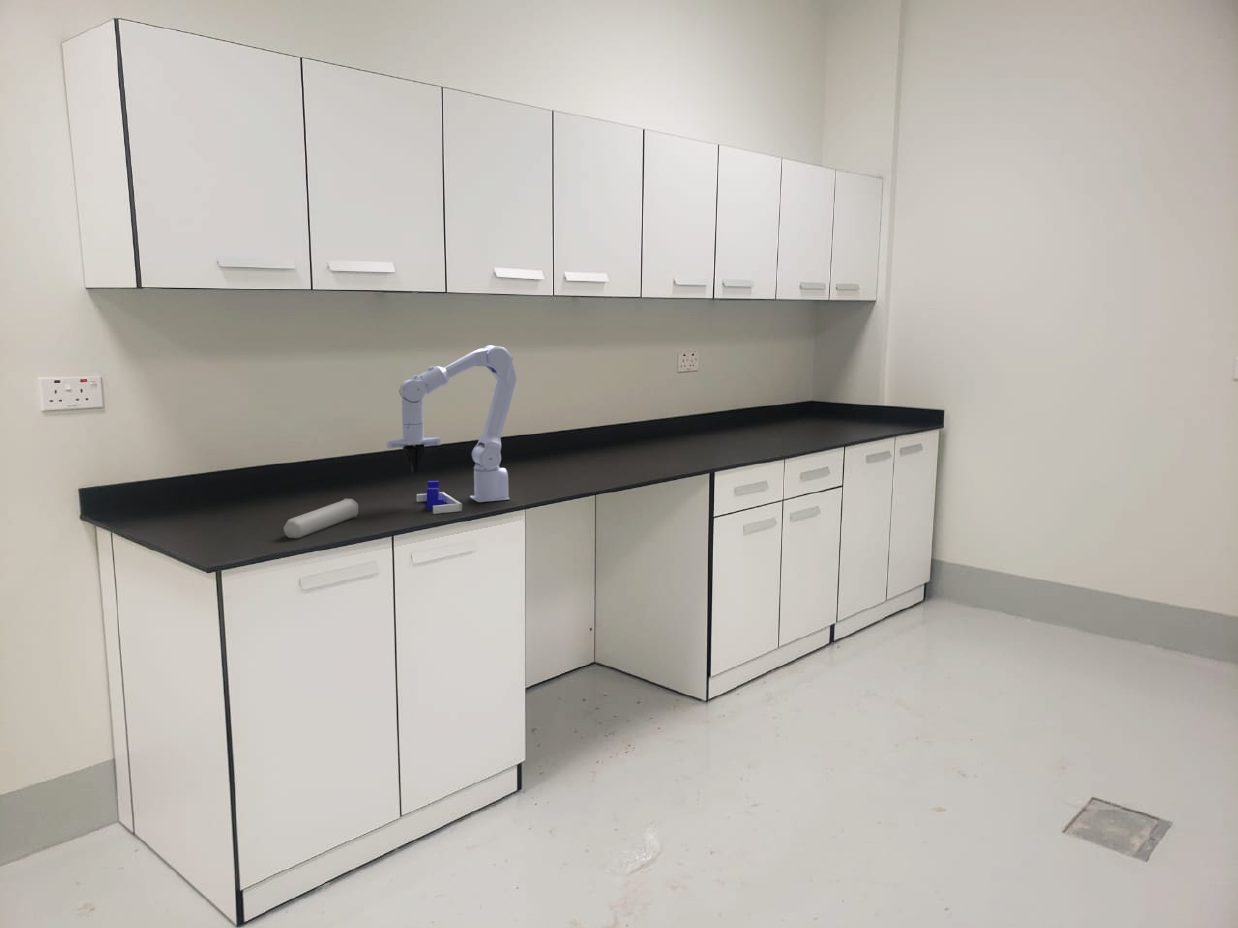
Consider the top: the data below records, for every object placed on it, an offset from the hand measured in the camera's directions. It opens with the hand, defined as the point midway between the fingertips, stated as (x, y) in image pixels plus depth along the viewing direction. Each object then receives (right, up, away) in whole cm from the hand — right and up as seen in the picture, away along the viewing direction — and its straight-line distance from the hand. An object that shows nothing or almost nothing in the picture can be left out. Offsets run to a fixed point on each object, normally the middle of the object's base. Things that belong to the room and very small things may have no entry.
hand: (414, 472), depth 244 cm
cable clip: (+6, -10, +2) cm, 11 cm away
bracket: (+6, -9, 0) cm, 11 cm away
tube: (-17, -14, -25) cm, 33 cm away
